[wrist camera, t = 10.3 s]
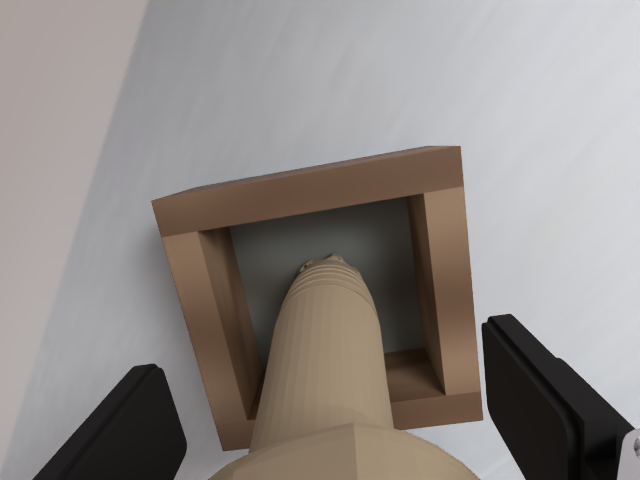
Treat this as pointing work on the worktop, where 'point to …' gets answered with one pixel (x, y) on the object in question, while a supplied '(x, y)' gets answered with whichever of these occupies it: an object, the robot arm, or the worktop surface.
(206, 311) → the socket
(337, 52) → the worktop surface
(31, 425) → the worktop surface
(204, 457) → the worktop surface
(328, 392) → the handle
